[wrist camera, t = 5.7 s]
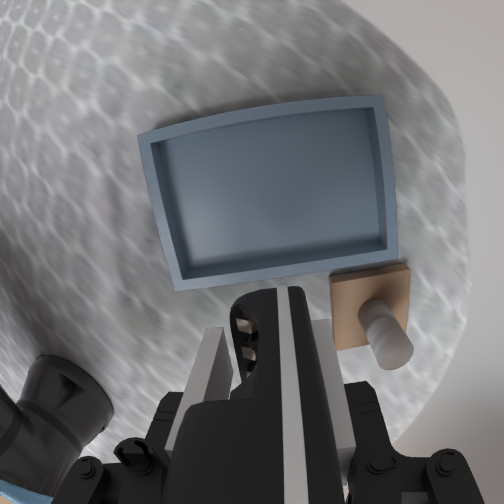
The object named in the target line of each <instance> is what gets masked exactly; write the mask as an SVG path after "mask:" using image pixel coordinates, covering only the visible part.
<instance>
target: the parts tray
mask: <svg viewBox="0 0 504 504" xmlns="http://www.w3.org/2000/svg"><path fill="white" fill-rule="evenodd" d="M137 138H138V143H139V148H140V153H141V158H142V163H143V168H144V173H145V177H146V182H147V186H148V191H149V195H150V199H151V204H152V208H153V212H154V216H155V220H156V224H157V228H158V232H159V236H160V240H161V243H162V247H163V251H164V254H165V258H166V262H167V265H168V269H169V272H170V276H171V279H172V282H173V286H174V289H175V291H183V290H191V289H199V288H207V287H215V286H222V285H230V284H237V283H245V282H252V281H259V280H266V279H273V278H280V277H287V276H293V275H300V274H306V273H313V272H319V271H326V270H332V269H338V268H345V267H351V266H357V265H363V264H369V263H375V262H381V261H386V260H392V259H398V236H397V210H396V193H395V181H394V170H393V160H392V152H391V144H390V136H389V129H388V123H387V116H386V110H385V105H384V99H383V95H362V96H344V97H330V98H319V99H309V100H300V101H292V102H284V103H277V104H270V105H264V106H258V107H252V108H246V109H241V110H235V111H230V112H225V113H220V114H216V115H211V116H207V117H202V118H198V119H194V120H190V121H186V122H182V123H178V124H174V125H170V126H166V127H163V128H159V129H156V130H152V131H149V132H146V133H142V134H139V135H137Z"/></svg>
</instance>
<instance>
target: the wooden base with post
mask: <svg viewBox="0 0 504 504" xmlns="http://www.w3.org/2000/svg"><path fill="white" fill-rule="evenodd" d="M329 283H330V297H331V312H332V330H333V341H334V345H335V349H336V351H337V350H343V349H348V348H353V347H359V346H364V345H369V344H370V346H371V348H372V350H373V352H374V355H375V357H376V359H377V362H378V364H379V366H380V367H381V368H382V369H384V370H395V369H398V368H400V367H402V366H403V365H405V364H406V363H407V362H408V361H409V360H410V358H411V356H412V354H413V350H414V349H413V345H412V343H411V342H410V340H409V338H408V337H407V335H406V326H407V316H408V304H409V288H410V269H409V268H408V267H407V266H406V265H405V264H404V263H402V264H397V265H391V266H386V267H380V268H374V269H368V270H363V271H357V272H351V273H345V274H338V275H332V276H329Z"/></svg>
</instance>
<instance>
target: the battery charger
mask: <svg viewBox="0 0 504 504" xmlns="http://www.w3.org/2000/svg"><path fill="white" fill-rule="evenodd" d="M230 327H231V333H232V338H233V343H234V348H235V353H236V358H237V362H238V367H239V372H240V377H241V381H242V383H241V384H240V385H239V386H238V387H236V388H235V389H234V390H232V391H231V393H230V399H229V400H215V401H204V402H200V403H197V404H193V405H191V406H190V407H189V408H188V409H187V410H186V411H185V414H184V417H183V420H182V422H181V424H180V427H179V429H178V433H177V437H176V440H175V443H174V447H173V451H172V455H171V460H170V464H169V468H168V473H167V478H166V483H165V487H164V492H163V498H162V503H161V504H345V500H344V493H343V486H342V479H341V472H340V466H339V459H338V453H337V447H336V441H335V436H334V430H333V425H332V419H331V414H330V408H329V403H328V398H327V393H326V388H325V384H324V379H323V374H322V369H321V365H320V360H319V355H318V351H317V347H316V342H315V338H314V333H313V329H312V324H311V320H310V315H309V311H308V306H307V301H306V297H305V292H304V290H303V289H302V288H301V287H299V286H291V287H287V285H279V286H277V288H271V289H261V290H258V291H254V292H250V293H247V294H245V295H243V296H241V297H239V298H238V299H237V300H236V301H235V302H234V304H233V306H232V307H231V311H230Z"/></svg>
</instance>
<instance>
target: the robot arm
mask: <svg viewBox="0 0 504 504" xmlns="http://www.w3.org/2000/svg"><path fill="white" fill-rule="evenodd" d="M311 324H312V329H313V333H314V338H315V342H316V347H317V351H318V355H319V360H320V365H321V369H322V374H323V379H324V384H325V388H326V393H327V398H328V403H329V408H330V414H331V419H332V425H333V430H334V436H335V441H336V447H337V453H338V459H339V466H340V472H341V479H342V486H344V485H346V484H347V481H348V489H349V493H348V496H347V499H346V502H345V504H485V503H484V501H483V498H482V496H481V493H480V491H479V488H478V486H477V484H476V481H475V479H474V477H473V475H472V472H471V470H470V468H469V466H468V464H467V461H466V459H465V458H464V456H463V455H462V454H461V453H460V452H459V451H457V450H455V449H448V448H447V449H443V450H439V451H437V452H436V453H434V454H433V455H432V456H431V457H429V458H428V457H426V458H425V457H407V456H404V455H401V454H400V453H398V452H397V451H395V449H394V448H393V447H392V445H391V443H390V439H389V436H388V432H387V429H386V425H385V422H384V418H383V415H382V412H381V408H380V405H379V403H378V399H377V395H376V392H375V389H374V388H373V387H372V386H371V385H370V384H369V383H368V382H367V381H362V382H356V383H349V384H343V380H342V375H341V371H340V367H339V362H338V358H337V354H336V349H335V345H334V341H333V337H332V333H331V329H330V325H329V321H328V319H323V320H314V321H311ZM232 377H233V369H232V364H231V360H230V356H229V351H228V347H227V342H226V338H225V333H224V329H223V327H220V328H207V329H206V331H205V334H204V337H203V340H202V343H201V345H200V348H199V351H198V354H197V357H196V359H195V362H194V365H193V368H192V371H191V374H190V376H189V379H188V382H187V385H186V388H185V391H184V392H168V393H167V394H166V395H165V396H164V397H163V398H162V399H161V401H160V403H159V405H158V408H157V410H156V411H157V412H156V413H155V415H154V418H153V421H152V423H151V425H150V427H149V430H148V432H147V435H146V437H145V439H143V438H137V437H133V438H128V439H126V440H123V441H121V442H120V443H119V444H118V445H117V446H116V448H115V450H114V452H113V453H114V454H115V455H116V457H117V458H118V459H119V460H120V461H121V463H108V464H102V462H101V461H100V460H99V459H97V458H95V457H93V456H85V457H81V458H79V456H80V454H81V452H82V450H83V448H84V447H85V446H86V445H87V444H89V443H90V442H91V441H92V440H93V439H94V438H95V437H96V436H97V435H98V434H99V433H101V432H103V431H104V430H105V429H106V428H107V426H108V424H109V422H110V420H111V418H112V416H113V409H112V405H111V403H110V401H109V399H108V397H107V395H106V394H105V393H104V391H103V390H102V389H101V387H100V386H99V385H98V384H97V383H96V382H95V381H94V380H93V379H92V378H91V377H90V376H89V375H87V374H86V373H85V372H84V371H82V370H81V369H80V368H78V367H77V366H75V365H73V364H72V363H70V362H68V361H66V360H64V359H62V358H59V357H56V356H51V355H44V356H41V357H39V358H38V359H37V360H36V361H35V362H34V363H33V365H32V366H31V367H30V369H29V372H28V376H27V378H26V381H25V384H24V387H23V390H22V394H21V397H20V399H19V400H18V402H17V403H16V404H15V403H14V401H13V400H12V399H11V398H10V396H9V395H8V394H7V392H6V391H5V390H4V389H3V387H2V386H1V384H0V495H1V496H3V497H5V498H6V499H8V500H9V501H11V502H13V503H14V504H161V503H162V498H163V492H164V487H165V483H166V478H167V473H168V468H169V464H170V460H171V455H172V451H173V447H174V443H175V440H176V437H177V433H178V429H179V427H180V424H181V422H182V420H183V417H184V414H185V411H186V410H187V409H188V408H189V407H190V406H191V405H193V404H197V403H200V402H204V401H215V400H228V398H229V393H230V387H231V382H232ZM78 458H79V459H78Z"/></svg>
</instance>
